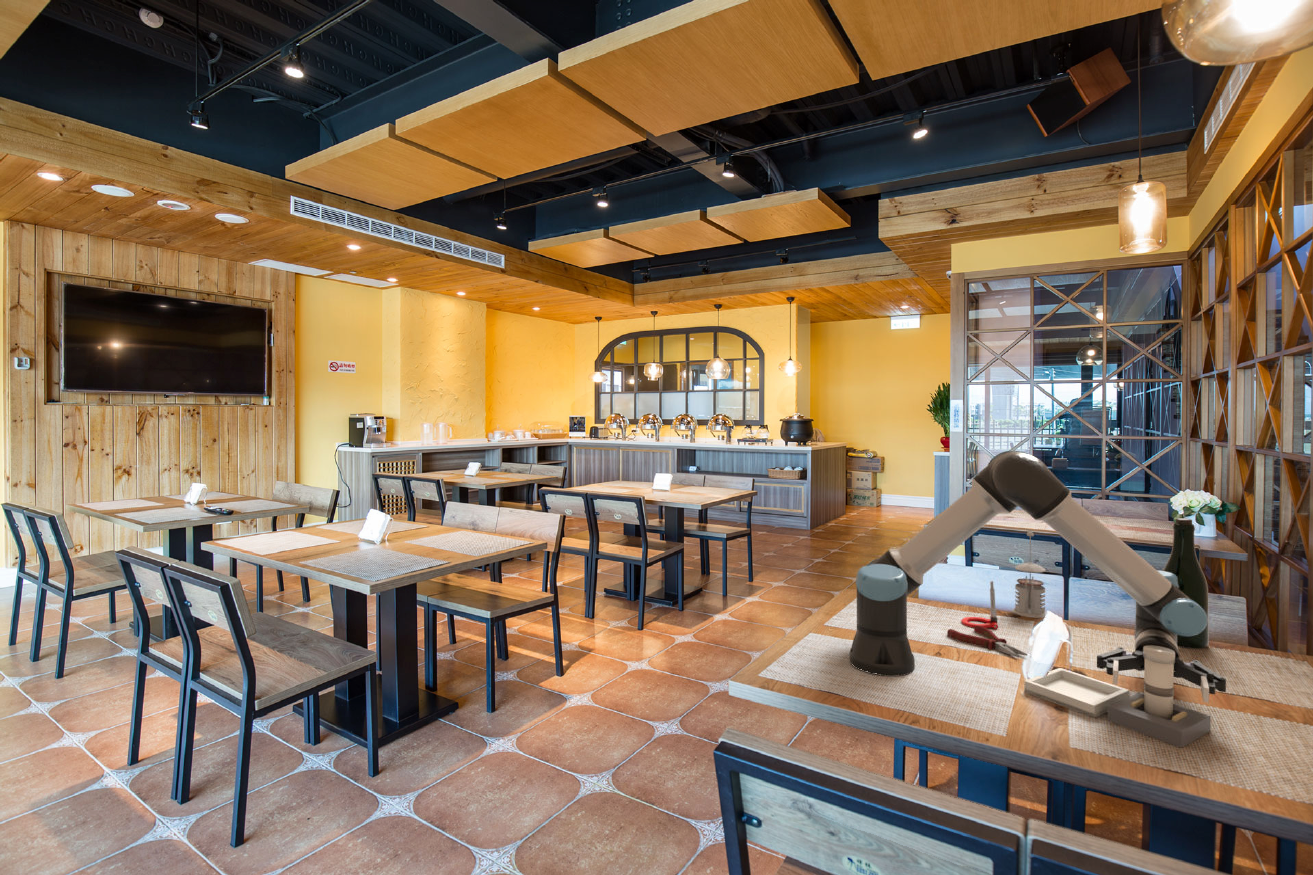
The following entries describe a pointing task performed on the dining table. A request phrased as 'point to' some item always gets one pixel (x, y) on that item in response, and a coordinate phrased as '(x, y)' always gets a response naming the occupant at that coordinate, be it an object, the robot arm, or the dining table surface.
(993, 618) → the tow hook
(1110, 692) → the parts tray
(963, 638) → the pliers
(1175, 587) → the robot arm
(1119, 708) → the fuse socket
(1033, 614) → the french press
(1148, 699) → the cylinder
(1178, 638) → the dark green wine bottle
